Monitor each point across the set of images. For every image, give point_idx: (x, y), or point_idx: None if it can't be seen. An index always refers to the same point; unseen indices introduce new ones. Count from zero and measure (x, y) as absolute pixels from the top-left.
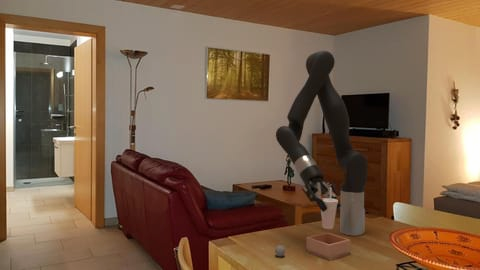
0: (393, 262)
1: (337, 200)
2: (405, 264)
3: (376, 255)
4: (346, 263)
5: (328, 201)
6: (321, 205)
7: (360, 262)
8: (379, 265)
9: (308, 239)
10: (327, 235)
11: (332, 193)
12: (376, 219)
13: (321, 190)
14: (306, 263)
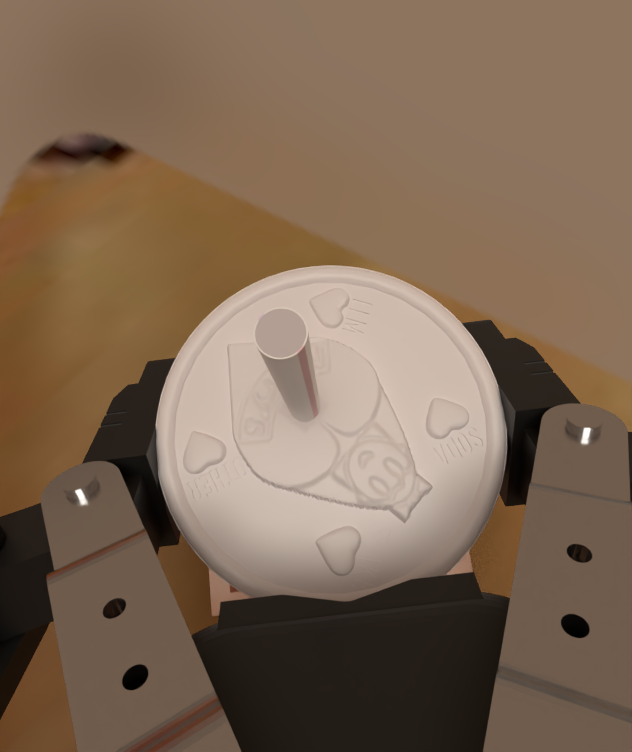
0: (108, 182)
1: (214, 319)
2: (79, 137)
3: (94, 297)
4: None
5: (415, 335)
6: (545, 365)
7: (269, 259)
8: (211, 185)
9: (468, 558)
10: (234, 588)
11: (113, 521)
12: None
13: (434, 610)
14: (573, 389)
